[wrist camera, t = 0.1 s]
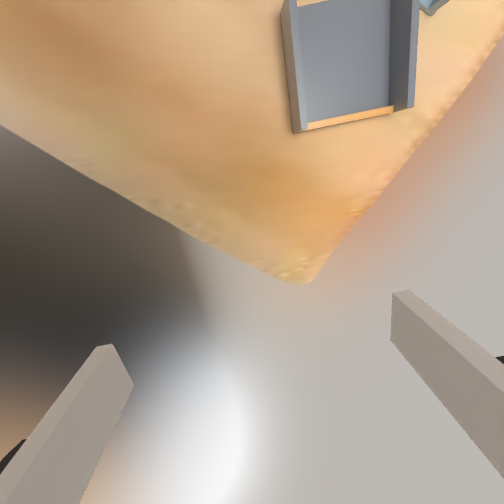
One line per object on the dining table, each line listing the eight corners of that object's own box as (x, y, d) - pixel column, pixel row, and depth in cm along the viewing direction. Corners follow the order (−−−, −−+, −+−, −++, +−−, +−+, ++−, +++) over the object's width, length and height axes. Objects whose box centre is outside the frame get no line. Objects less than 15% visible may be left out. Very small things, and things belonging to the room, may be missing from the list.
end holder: (279, 14, 29) (287, -12, 24) (393, -11, 28) (422, -42, 24) (293, 133, 34) (301, 130, 29) (390, 113, 33) (413, 106, 29)
